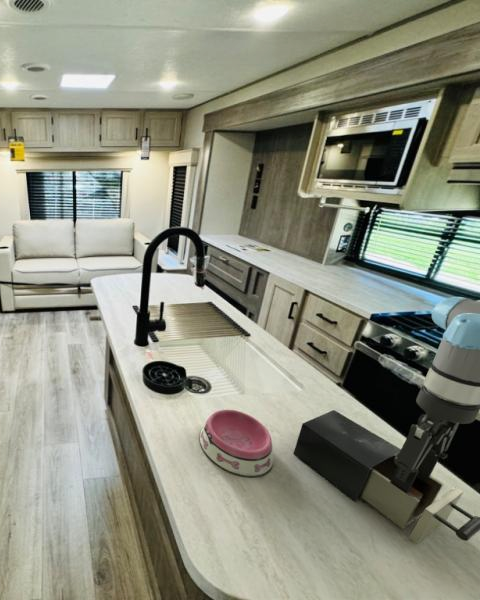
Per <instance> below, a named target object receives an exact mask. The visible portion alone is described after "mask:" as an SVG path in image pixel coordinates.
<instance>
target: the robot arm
mask: <svg viewBox="0 0 480 600" xmlns="http://www.w3.org/2000/svg"><path fill="white" fill-rule="evenodd" d="M431 319H432V321H433V323H434V324H435V325H437V326H438V327H440V328H441V329H443V330H444V332H443V334H442V338H441V341H440V343H439V346H438V348H437V351H436V353H435V356H434V358H433V360H432V363H431V364H430V367H429V369H428V371H427V374H426V376H425V378H424V380H423V385H422V386H421V387H420V390H419V392H418V394H417V396H416V399H415V400H416V401H415V402H416V404H417V405H418V406H419V407H420V409H422V410H423V411H424V413H425V414H424V413H422V414H420V416H419V417H418V419H417V422H418V423H417V424H412V425H411V426H410V429H409V432H408V435H407V437H406V439H405V441H404V443H403V444H402V447H401V448H400V449H401V451H400V452H399V454H398V456H397V458H394V464H396V465H397V468H396V471H395V473H394V475H393V477H392V479H391V481H392V482H393V483H395V484H396V485H398V486H399V487H401V488H402V489H404V490H405V491H407V492H409V490H410V488H411V486H412V484H413V482H414V480H415V478H416V476H417V477H419V478H420V479H422V480H424V481H425V482H426V481H428V479H429V477H430V476H432V473H433V471H434V469H435V467H436V465H437V464H438V461H439V460H440V458H441V459H443V460H445V459H446V458H448V456H449V454H447V453H445V452H446V451H449V447H450V445H451V442H452V441H453V438H454V436H455V434H456V432H457V430H458V427H459V425H460V424H462V425H465V424H471V423H473V422H474V421H476V419H477V416H478V415H479V413H480V299H478V300H474V299H473V298H468V297H463V296H451V297H447V298H445V299H443V300H441V301H439V302H438V303H437V304H436V305H435V306H434V307H433V308H432V311H431Z"/></svg>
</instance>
